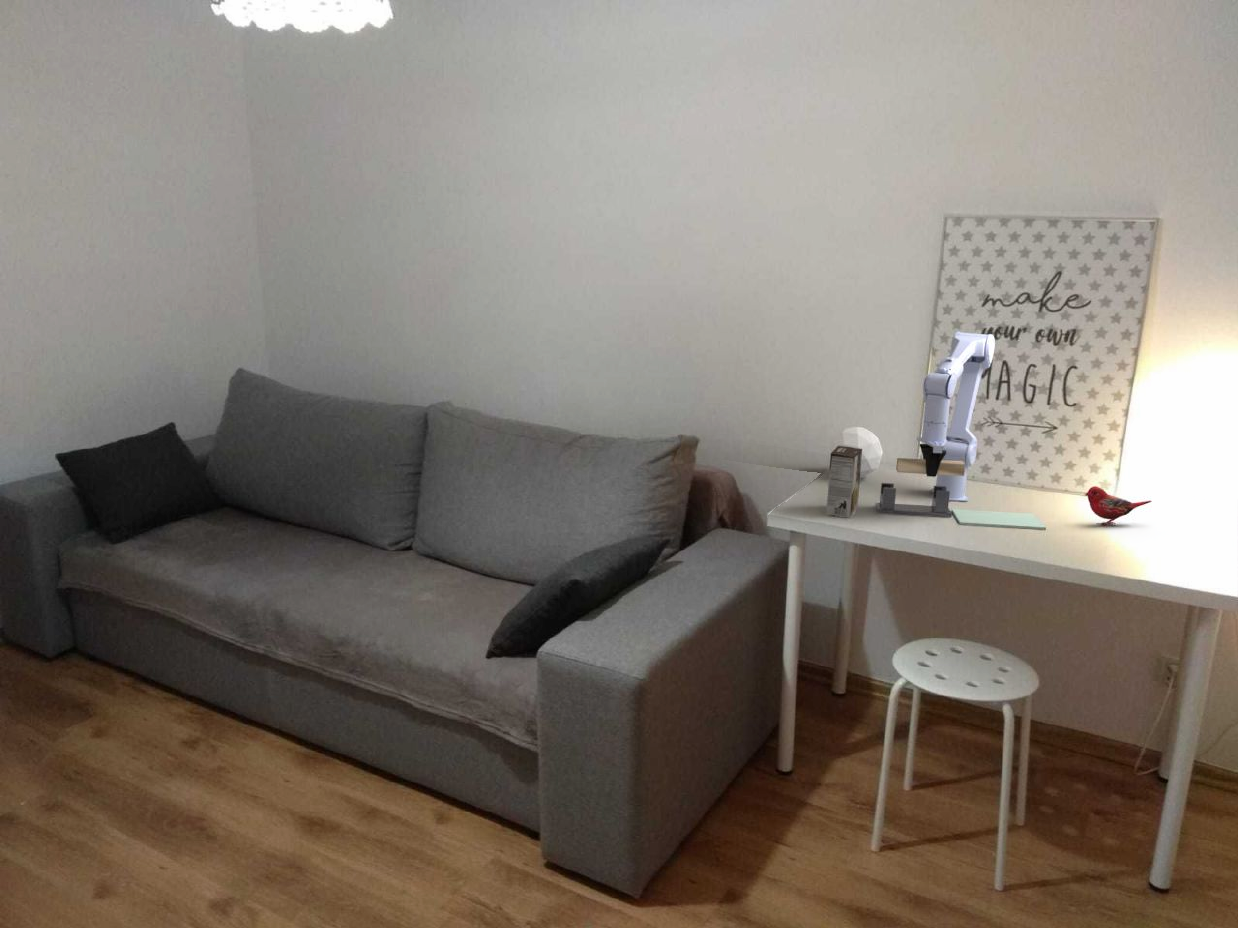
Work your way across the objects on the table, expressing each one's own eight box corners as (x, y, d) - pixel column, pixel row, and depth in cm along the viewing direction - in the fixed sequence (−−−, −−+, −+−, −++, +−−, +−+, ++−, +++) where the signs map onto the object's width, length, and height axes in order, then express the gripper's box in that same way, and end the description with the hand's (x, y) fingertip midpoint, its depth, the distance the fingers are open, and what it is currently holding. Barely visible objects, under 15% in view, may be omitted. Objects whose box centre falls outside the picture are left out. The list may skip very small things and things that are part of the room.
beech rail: (896, 469, 240) (897, 457, 239) (961, 472, 238) (963, 461, 237) (897, 472, 237) (898, 460, 236) (964, 475, 235) (965, 464, 234)
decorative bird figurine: (1076, 523, 234) (1082, 484, 231) (1144, 522, 235) (1150, 484, 233) (1083, 527, 231) (1089, 488, 228) (1151, 526, 232) (1158, 487, 230)
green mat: (951, 511, 242) (951, 509, 242) (1033, 516, 239) (1033, 513, 239) (959, 524, 231) (960, 522, 231) (1045, 529, 228) (1046, 527, 228)
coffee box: (833, 505, 245) (837, 445, 241) (858, 509, 242) (863, 448, 238) (824, 515, 237) (829, 452, 233) (850, 518, 234) (855, 455, 230)
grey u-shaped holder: (875, 506, 245) (877, 482, 243) (947, 510, 242) (949, 486, 241) (877, 513, 239) (879, 488, 238) (951, 517, 237) (954, 492, 235)
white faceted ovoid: (893, 464, 260) (883, 476, 280) (874, 413, 263) (866, 429, 283) (842, 480, 261) (836, 491, 281) (824, 430, 265) (819, 444, 284)
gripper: (914, 414, 242) (909, 466, 245) (923, 426, 228) (917, 481, 231) (943, 416, 240) (938, 467, 244) (953, 428, 227) (947, 482, 230)
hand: (930, 474), depth 237 cm, fingers closed on beech rail, 3 cm apart
